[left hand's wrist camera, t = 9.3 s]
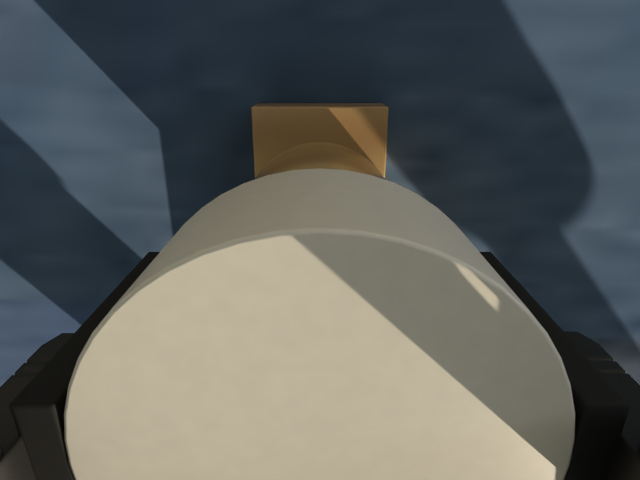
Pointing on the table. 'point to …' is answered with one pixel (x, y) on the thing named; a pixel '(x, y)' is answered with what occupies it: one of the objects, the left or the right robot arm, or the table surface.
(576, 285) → the table surface
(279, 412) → the cap
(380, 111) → the canister stand
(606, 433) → the left robot arm
